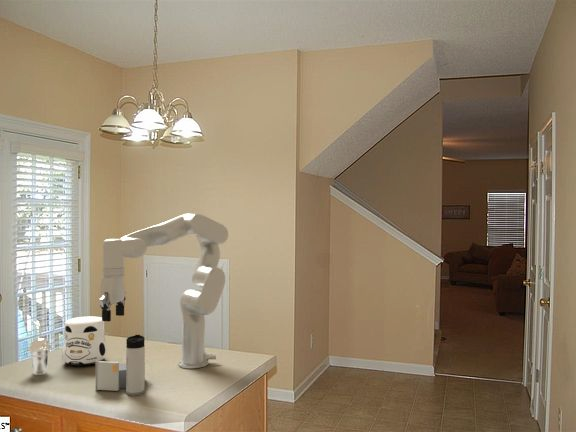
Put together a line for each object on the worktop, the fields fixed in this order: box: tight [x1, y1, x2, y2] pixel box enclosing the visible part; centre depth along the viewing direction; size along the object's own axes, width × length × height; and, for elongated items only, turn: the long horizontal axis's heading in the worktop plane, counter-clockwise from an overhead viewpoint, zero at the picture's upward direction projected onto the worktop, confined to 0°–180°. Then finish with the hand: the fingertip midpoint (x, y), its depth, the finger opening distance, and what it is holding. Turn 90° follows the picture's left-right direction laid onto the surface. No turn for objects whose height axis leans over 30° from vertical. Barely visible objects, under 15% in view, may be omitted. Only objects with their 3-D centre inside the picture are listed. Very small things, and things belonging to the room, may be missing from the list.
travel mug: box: [125, 334, 146, 397], centre depth 179 cm, size 6×7×20 cm
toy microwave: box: [119, 363, 126, 389], centre depth 187 cm, size 16×9×7 cm, turn 103°
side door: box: [95, 360, 120, 392], centre depth 180 cm, size 9×2×10 cm, turn 83°
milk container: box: [62, 315, 108, 367], centre depth 214 cm, size 17×17×18 cm
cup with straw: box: [27, 320, 53, 376], centre depth 199 cm, size 8×9×20 cm
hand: (113, 318), depth 187 cm, fingers open, 9 cm apart
